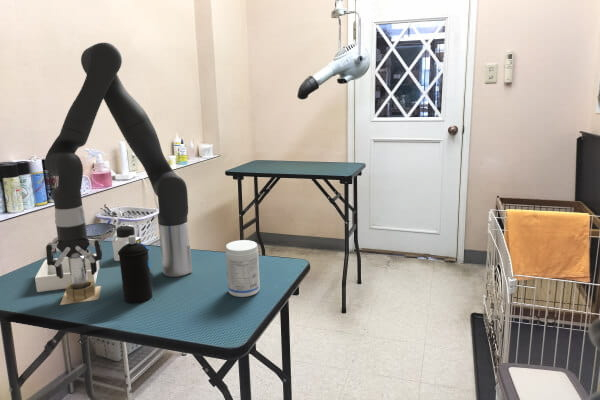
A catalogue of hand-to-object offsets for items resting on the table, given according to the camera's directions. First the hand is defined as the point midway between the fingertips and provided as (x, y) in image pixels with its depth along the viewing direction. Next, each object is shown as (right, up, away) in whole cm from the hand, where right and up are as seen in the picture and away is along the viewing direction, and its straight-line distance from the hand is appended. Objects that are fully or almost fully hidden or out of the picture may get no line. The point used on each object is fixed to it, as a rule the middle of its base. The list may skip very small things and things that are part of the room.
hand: (77, 275), depth 139 cm
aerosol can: (+18, -8, -1) cm, 20 cm away
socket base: (+1, -7, +2) cm, 8 cm away
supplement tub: (+48, -6, +5) cm, 48 cm away
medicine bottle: (+2, +1, +35) cm, 35 cm away
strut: (+1, -6, +1) cm, 6 cm away
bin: (-9, -4, +14) cm, 17 cm away
